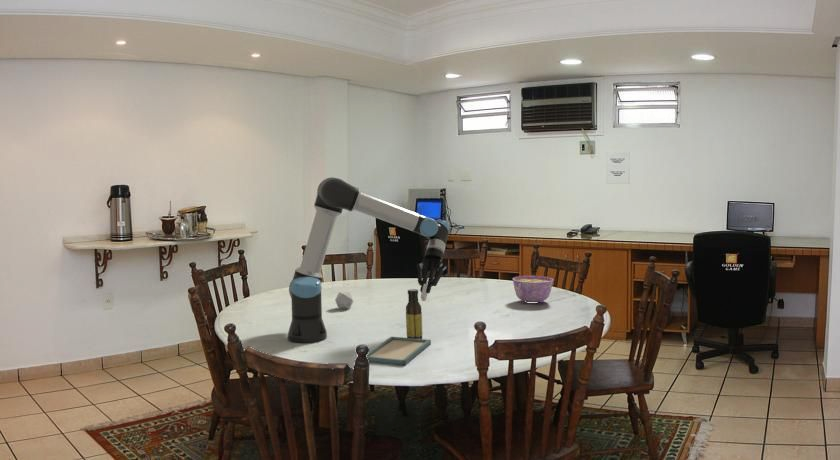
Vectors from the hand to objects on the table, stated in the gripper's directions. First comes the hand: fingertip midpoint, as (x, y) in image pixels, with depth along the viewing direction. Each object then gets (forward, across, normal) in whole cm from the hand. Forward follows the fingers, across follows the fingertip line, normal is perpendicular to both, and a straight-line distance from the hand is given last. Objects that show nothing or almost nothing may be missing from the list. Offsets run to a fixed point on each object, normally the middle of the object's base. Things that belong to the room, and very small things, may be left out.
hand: (423, 299), depth 259 cm
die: (-14, +52, -34) cm, 63 cm away
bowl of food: (-42, -32, -64) cm, 83 cm away
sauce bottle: (+17, +1, -4) cm, 17 cm away
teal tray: (+30, +1, +10) cm, 31 cm away
